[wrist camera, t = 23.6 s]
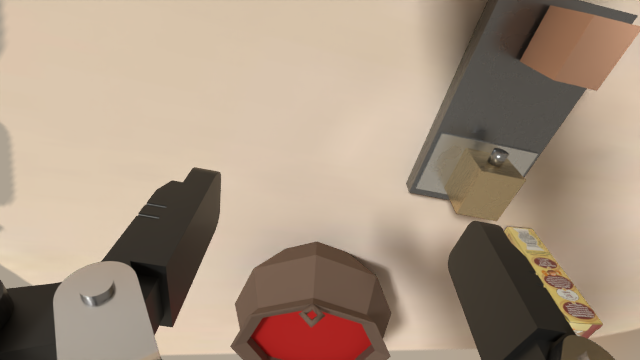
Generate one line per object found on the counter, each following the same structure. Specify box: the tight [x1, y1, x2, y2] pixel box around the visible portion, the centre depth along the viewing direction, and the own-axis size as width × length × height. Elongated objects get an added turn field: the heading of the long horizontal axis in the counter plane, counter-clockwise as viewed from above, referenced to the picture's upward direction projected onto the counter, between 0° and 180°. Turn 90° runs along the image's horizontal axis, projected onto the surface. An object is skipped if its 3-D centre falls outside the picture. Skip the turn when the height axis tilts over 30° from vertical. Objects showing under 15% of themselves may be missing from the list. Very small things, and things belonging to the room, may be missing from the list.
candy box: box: [504, 227, 603, 339], centre depth 43 cm, size 9×4×15 cm, turn 176°
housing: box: [444, 148, 526, 221], centre depth 37 cm, size 8×5×5 cm, turn 168°
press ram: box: [520, 5, 640, 90], centre depth 28 cm, size 5×4×6 cm
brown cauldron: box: [230, 242, 391, 360], centre depth 48 cm, size 24×24×16 cm
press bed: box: [406, 0, 637, 200], centre depth 36 cm, size 24×13×2 cm, turn 168°
